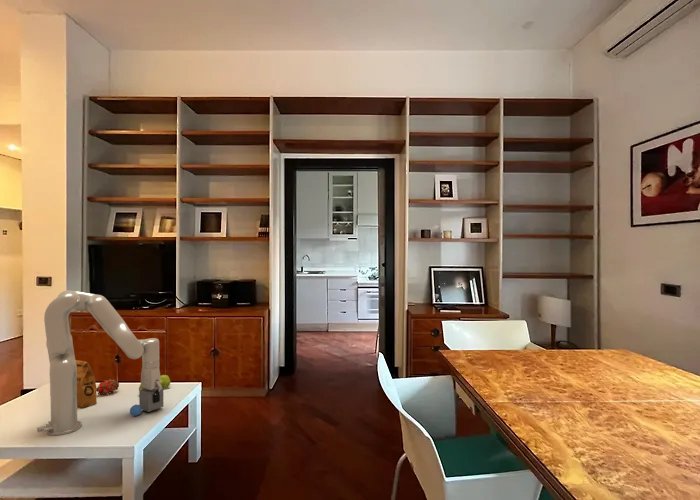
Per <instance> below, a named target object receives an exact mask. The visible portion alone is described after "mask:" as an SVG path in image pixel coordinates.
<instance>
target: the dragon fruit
mask: <svg viewBox="0 0 700 500" xmlns="http://www.w3.org/2000/svg"><path fill="white" fill-rule="evenodd" d="M119 386H120V383H119V381H118V380H117V379H112V378H108V379H105V380H103V381H102V382H99V384H98V386H96V388H97V391H96V393H97V394H98V395H99V396H105V395H108V396H110V395H111V394H114V392H115V391H117V390H119Z"/></svg>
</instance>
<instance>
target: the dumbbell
mask: <svg viewBox="0 0 700 500" xmlns="http://www.w3.org/2000/svg"><path fill="white" fill-rule="evenodd" d="M160 380H161V386H162V388H163V390H166V389H168V388H169V387H170V385H171V379H170V377H169V375H166V374H162V375H161V374H160ZM165 388H166V389H165ZM142 389H143V388H142V387H141V384H139V387H138V391H139V390H142Z"/></svg>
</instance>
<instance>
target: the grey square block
mask: <svg viewBox="0 0 700 500" xmlns="http://www.w3.org/2000/svg"><path fill="white" fill-rule="evenodd" d="M154 388H156V387H154ZM156 390H157V389H155V392H156ZM138 393H139V395H138V396H139V404H138V405H140V406H141V407H142V411H145V412H148V413H149V412H152V411H155V410H157V409H161V408H163V407H164V389H163V388H162V389H161V392H160V401H159V402H156V403H153V395H154V394H153V390H148V389H142V390H139V389H138Z"/></svg>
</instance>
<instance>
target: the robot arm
mask: <svg viewBox="0 0 700 500" xmlns="http://www.w3.org/2000/svg"><path fill="white" fill-rule="evenodd" d="M72 311H80V312H82V311H83V312H89V313H90V314H91V316H92V317H93V318H94V319H95V320H96V322H97V323H98V324H99V325H100V326H101V328H102V329H103V330H104V331H105V333H107V335H108V336H109V337H110V338H111V339H112V340H113V341H114V342H115V343H116V344H117V345H118V347H119V348H120V349H121V350H122V352H123V353H124V354H125V356H126V357H128V359H131V360H137V359H140V358H141V359H142V360H141V361H142V364H141V365H142V367H141V370H140V371H141V373H140V385H141V387H142V388H143V389H148V390H153V394H154V395H153V403H156V402H159V401H160V392H161V389H162V386H161V380H160V376H161V371H160V340H159V338H157V337H152V338H146V339H138V338H137V337H136V336H135V334H134V333H133V331H132V330H131V329H130V328H129V326H128V325H127V323H126V322H125V319H123V317H122V316H121V315H120V314H119V313H118V311H117V310H116V309H115V307H114V306H113V305H112V304H111V302H110V301H109V300H108V299H107V298H106V297H105V296H103V295H102V294H95V293H88V292H83V291H76V290H70V289H67V290H63V291H61V292H60V293H59V294H58V295H57V296H56V298H55V299H53V300H52V301H51V302H50V303H49V304H48V305H47V307H46V309H45V312H44V317H43V318H44V320H43V321H44V330H45V337H46V341H45V346H46V349H47V354H48V355H47V356H48V360H49V396H50V420H49V421H48V422H47V423H46V424H45V425H41V426H39V427H37V428H36V429H37V433H41V432H43V433H45V432H46V434H47V435H49V436H61V435H66V434H71V433H73V432H75V431H77V430H79V429H80V428H81V427H82V422H81V421H80V420H78V406H77V365H76V361H75V360H76V355H75V349H74V344H73V343H74V342H73V340H74V339H73V336H72V334H71V329H70V322H69V316H70V314H71V312H72ZM154 387H156V388H154ZM155 389H157V390H156V392H155Z"/></svg>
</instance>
